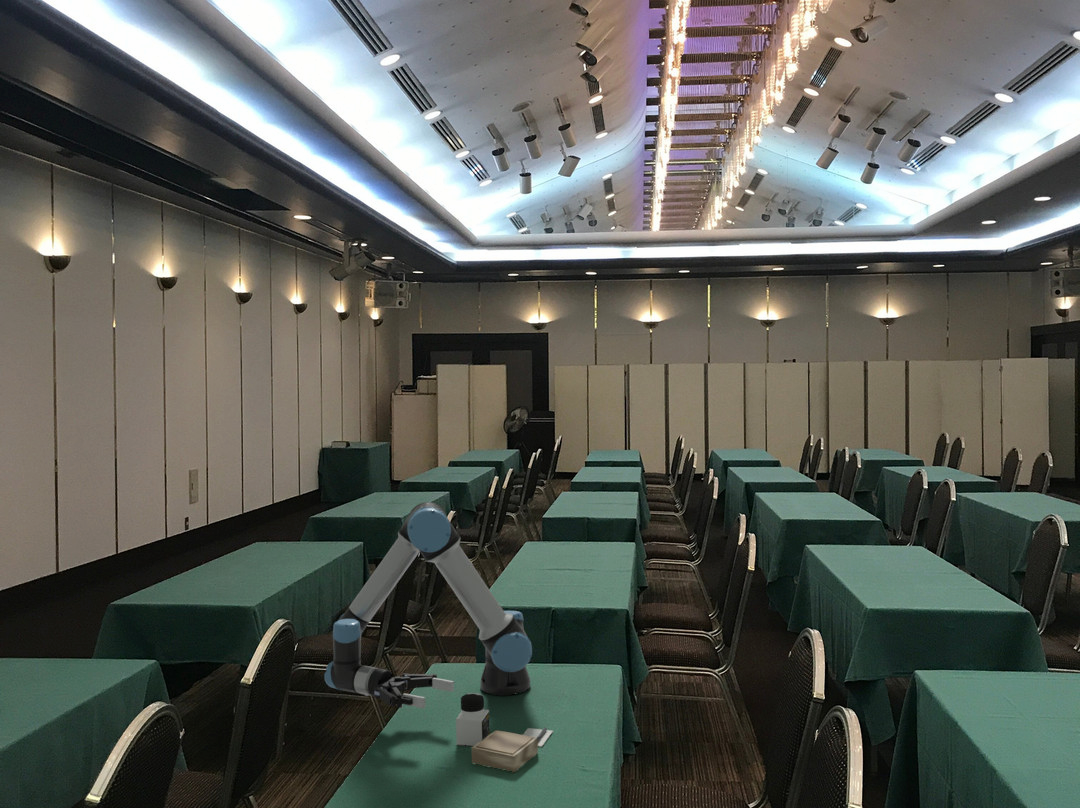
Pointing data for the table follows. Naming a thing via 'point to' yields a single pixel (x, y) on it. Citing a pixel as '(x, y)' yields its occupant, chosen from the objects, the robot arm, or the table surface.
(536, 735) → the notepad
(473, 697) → the medicine bottle
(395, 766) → the table surface
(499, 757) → the beech tray
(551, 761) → the table surface
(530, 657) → the robot arm
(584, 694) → the table surface
